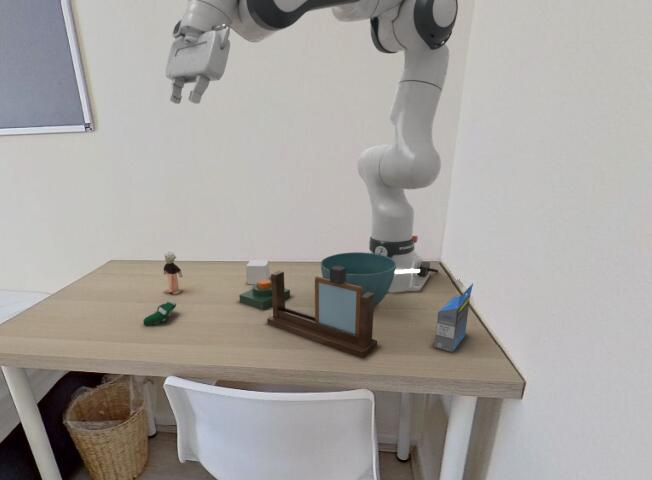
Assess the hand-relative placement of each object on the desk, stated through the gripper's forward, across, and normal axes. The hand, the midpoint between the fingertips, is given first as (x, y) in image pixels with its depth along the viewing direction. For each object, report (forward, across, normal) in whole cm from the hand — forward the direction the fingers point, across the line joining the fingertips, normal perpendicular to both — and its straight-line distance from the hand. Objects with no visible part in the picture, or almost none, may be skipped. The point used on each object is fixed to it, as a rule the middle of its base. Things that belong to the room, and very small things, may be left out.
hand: (183, 102), depth 78 cm
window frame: (+36, -25, -35) cm, 56 cm away
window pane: (+34, -29, -35) cm, 57 cm away
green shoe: (+49, +7, -14) cm, 52 cm away
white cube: (+36, +14, -45) cm, 59 cm away
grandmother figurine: (+46, +23, -23) cm, 57 cm away
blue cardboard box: (+27, -45, -52) cm, 74 cm away
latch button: (+34, +1, -37) cm, 50 cm away
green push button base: (+37, 0, -38) cm, 53 cm away
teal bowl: (+30, -20, -51) cm, 62 cm away
